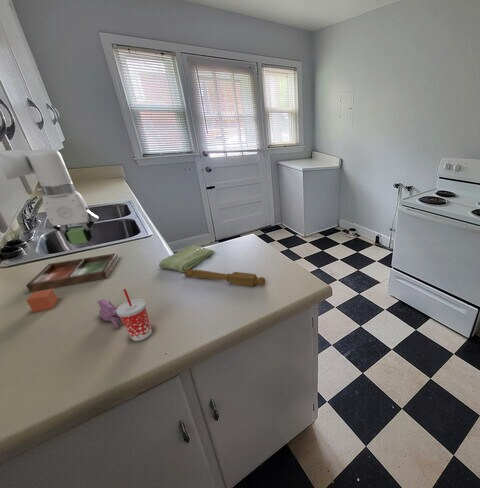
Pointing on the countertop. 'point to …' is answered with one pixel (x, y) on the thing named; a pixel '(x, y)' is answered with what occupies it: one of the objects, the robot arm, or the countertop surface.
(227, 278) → the tap handle
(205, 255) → the washcloth
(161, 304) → the countertop surface
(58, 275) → the tray
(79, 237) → the green block
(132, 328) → the beverage cup
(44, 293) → the terracotta block
